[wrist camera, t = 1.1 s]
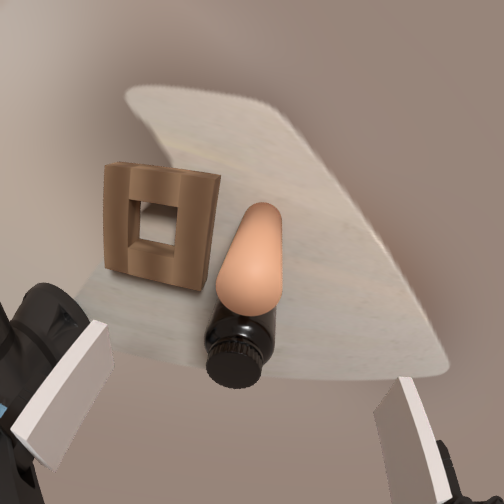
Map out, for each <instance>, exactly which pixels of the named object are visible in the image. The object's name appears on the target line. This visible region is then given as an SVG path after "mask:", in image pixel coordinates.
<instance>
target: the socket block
mask: <svg viewBox="0 0 504 504" xmlns="http://www.w3.org/2000/svg"><path fill="white" fill-rule="evenodd" d="M220 179H221V175H217V174H211V173H205V172H198V171H191V170H184V169H177V168H170V167H162V166H154V165H145V164H136V163H126V162H116V163H112V164H108V165H105V170H104V194H103V198H104V199H103V234H104V235H103V236H104V260H105V268H107V269H110V270H114V271H118V272H122V273H126V274H130V275H134V276H138V277H142V278H146V279H150V280H154V281H158V282H162V283H166V284H171V285H175V286H179V287H184V288H188V289H192V290H197V291H201V290H202V288H203V286H204V284H205V282H206V280H207V276H208V267H209V259H210V251H211V243H212V236H213V228H214V221H215V213H216V206H217V199H218V193H219V186H220ZM141 201H144V202H150V203H156V204H162V205H168V206H174V207H178V212H177V223H176V235H175V246H173V245H168V244H163V243H158V242H154V241H149V240H144V239H139V230H140V205H141Z"/></svg>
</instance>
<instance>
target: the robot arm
mask: <svg viewBox="0 0 504 504" xmlns="http://www.w3.org/2000/svg"><path fill="white" fill-rule="evenodd" d="M114 367H115V365H114V360H113V354H112V349H111V343H110V337H109V331H108V324H105V323H102V322H99V321H96V320H93V321H92V322H91V323H90V322H89V320H88V318H87V317H86V315H85V313H84V312H83V311H82V309H81V308H80V307H79V305H78V304H77V303H76V302H75V301H74V300H73V299H72V298H71V297H70V296H69V295H68V294H67V293H66V292H64V291H63V290H62V289H60V288H58V287H56V286H55V285H52V284H49V283H39V284H37V285H35V286H34V287H32V288H31V289H30V290H29V291H28V292H27V293H26V294H25V296H24V298H23V301H22V304H21V305H20V306H19V308H18V310H17V311H16V313H15V315H14V317H13V319H12V320H11V321H10V322H9V320H8V318H7V316H6V313H5V311H4V309H3V307H2V305H1V303H0V504H45V503H44V500H43V497H42V494H41V490H40V487H39V484H38V480H37V476H36V472H35V468H34V465H33V460H34V458H35V459H36V460H37V461H38V462H39V463H40V464H41V465H43V466H45V467H46V468H48V469H50V470H51V471H53V472H56V470H57V468H58V466H59V464H60V463H61V460H62V459H63V457H64V455H65V453H66V451H67V449H68V447H69V445H70V444H71V442H72V440H73V438H74V436H75V434H76V433H77V431H78V429H79V427H80V425H81V424H82V422H83V420H84V418H85V416H86V415H87V413H88V411H89V409H90V408H91V406H92V404H93V402H94V401H95V399H96V397H97V396H98V394H99V392H100V391H101V389H102V387H103V385H104V384H105V382H106V380H107V379H108V377H109V375H110V374H111V372H112V371H113V369H114ZM373 413H374V417H375V422H376V426H377V430H378V435H379V439H380V444H381V448H382V453H383V458H384V463H385V468H386V473H387V479H388V484H389V490H390V496H391V502H392V504H504V502H503V499H502V498H501V497H499V496H493V497H491V498H490V499H489V500H487V501H481V502H472V500H471V499H470V498H468V497H465V496H463V495H462V494H461V491H460V487H459V484H458V480H457V477H456V474H455V470H454V467H452V466H453V464H452V461H451V460H450V455H449V452H448V449H447V447H446V446H445V445H444V443H443V442H442V441H441V440H438V441H435V438H434V435H433V432H432V429H431V427H430V424H429V421H428V418H427V416H426V413H425V410H424V408H423V405H422V402H421V400H420V397H419V395H418V392H417V390H416V387H415V385H414V382H413V380H412V378H411V377H398V378H397V380H396V381H395V383H394V384H393V386H392V387H391V389H390V390H389V391H388V393H387V394H386V396H385V397H384V398H383V400H382V401H381V403H380V404H379V405H378V407H377V408H376V409H375V411H374V412H373Z"/></svg>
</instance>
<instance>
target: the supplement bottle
mask: <svg viewBox="0 0 504 504" xmlns="http://www.w3.org/2000/svg"><path fill="white" fill-rule="evenodd" d="M275 330H276V306H275V307H274V308H273V309H272V310H270V311H269V312H267V313H265V314H262V315H258V316H244V315H240V314H237V313H235V312H233V311H231V310H229V309H228V308H227V307H226V306H225V305H224V304H223V303H222V302H221V301H220V299H219V297H218V299H217V301H216V304H215V307H214V309H213V312H212V314H211V317H210V320H209V322H208V325H207V328H206V331H205V334H204V345H205V349H206V351H207V353H208V359H207V362H206V370H207V373H208V374H209V376H210V377H211V378H212V380H214V381H215V382H216V383H218V384H219V385H223V386H224V387H228V388H233V389H241V388H246V387H250V386H252V385H254V384H255V383H256V382H257V381H258V380H259V378H260V376H261V371H262V366H263V365H264V364H265V363H266V362H267V361H268V360H269V359H270V358H271V356H272V354H273V352H274V346H275Z"/></svg>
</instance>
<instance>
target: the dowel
mask: <svg viewBox="0 0 504 504" xmlns="http://www.w3.org/2000/svg"><path fill="white" fill-rule="evenodd" d="M216 291H217V295H218V297H219V299H220V301H221V302H222V303H223V304H224V305H225V306H226V307H227V308H228V309H229V310H231V311H233V312H235V313H237V314H240V315H244V316H258V315H262V314H265V313H267V312H269V311H270V310H272V309H273V308H274V307H275V306H276V305H277V303H278V302H279V300H280V298H281V295H282V218H281V215H280V212H279V211H278V210H277V208H276V207H274V206H273V205H271V204H269V203H264V202H261V203H256V204H253V205H252V206H250V207H249V208H248V209H247V211H246V212H245V214H244V217H243V219H242V221H241V223H240V226H239V228H238V230H237V233H236V235H235V237H234V239H233V242H232V244H231V246H230V249H229V251H228V253H227V255H226V258H225V260H224V262H223V265H222V267H221V269H220V272H219V274H218V277H217V280H216Z"/></svg>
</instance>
